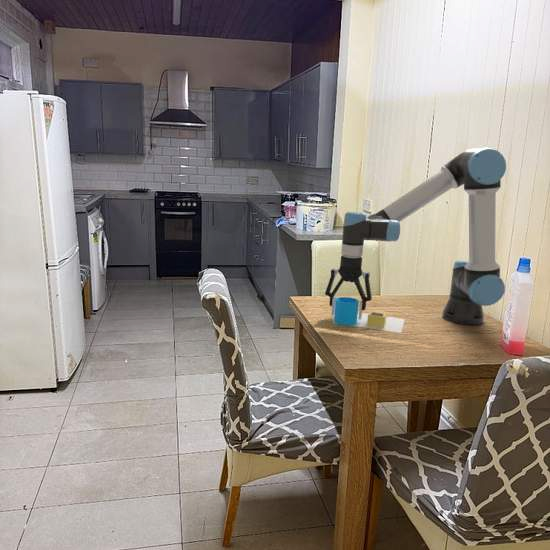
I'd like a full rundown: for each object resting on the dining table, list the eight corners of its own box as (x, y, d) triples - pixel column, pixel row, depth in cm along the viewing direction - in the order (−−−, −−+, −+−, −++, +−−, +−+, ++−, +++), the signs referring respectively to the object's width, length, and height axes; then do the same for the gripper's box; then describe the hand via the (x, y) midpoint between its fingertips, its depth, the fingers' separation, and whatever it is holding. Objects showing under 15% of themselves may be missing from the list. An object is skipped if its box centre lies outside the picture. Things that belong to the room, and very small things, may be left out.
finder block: (385, 323, 184) (387, 311, 183) (383, 328, 178) (385, 316, 177) (369, 320, 186) (370, 309, 185) (366, 325, 180) (368, 313, 179)
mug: (352, 326, 178) (354, 304, 176) (330, 322, 181) (332, 300, 180) (363, 318, 188) (365, 297, 186) (342, 314, 192) (344, 293, 190)
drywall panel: (412, 323, 189) (413, 320, 189) (409, 337, 174) (409, 334, 173) (333, 312, 198) (334, 309, 198) (324, 324, 182) (324, 321, 182)
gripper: (384, 257, 180) (378, 317, 185) (323, 251, 186) (319, 309, 191) (381, 261, 173) (375, 323, 178) (319, 254, 179) (314, 315, 184)
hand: (346, 316), depth 184 cm, fingers open, 9 cm apart
